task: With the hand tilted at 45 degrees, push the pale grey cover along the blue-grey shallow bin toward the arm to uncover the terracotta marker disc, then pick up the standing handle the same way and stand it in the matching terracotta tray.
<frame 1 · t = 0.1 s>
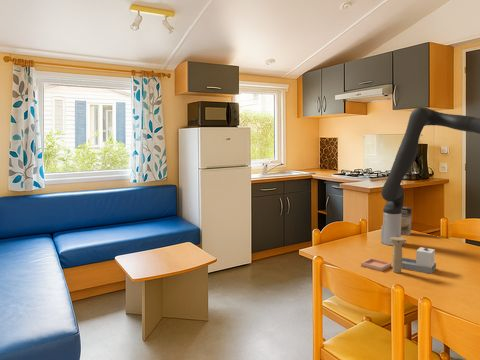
blue-grey shallow bin: (421, 268, 173), on the table
tray: (376, 266, 177), on the table
handle: (397, 272, 169), on the table
coffee box: (402, 233, 234), on the table
cover: (425, 256, 171), point 6 cm above the table, slide at 0.0 cm
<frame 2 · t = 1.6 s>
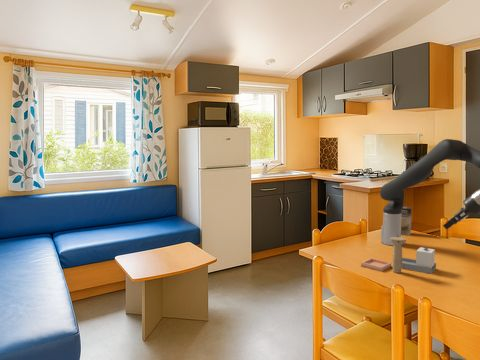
hand: (446, 225, 164), 21 cm above the table, tool tilted 45°, fingers open, 8 cm apart
nothing on the table moved.
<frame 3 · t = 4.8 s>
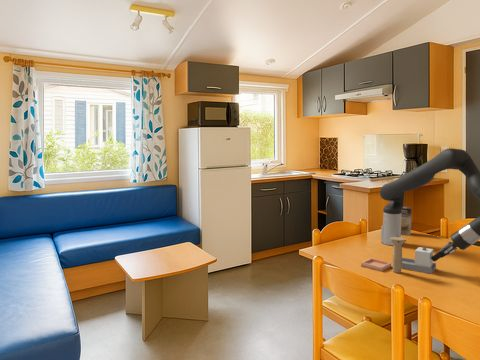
hand: (432, 259, 169), 5 cm above the table, tool tilted 45°, fingers closed
cover: (424, 256, 171), point 6 cm above the table, slide at 0.6 cm, touching gripper
everything else where it was.
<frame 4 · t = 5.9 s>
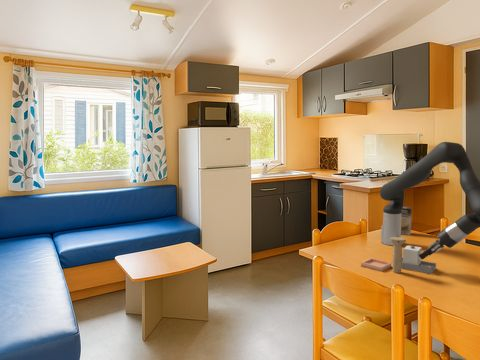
hand: (420, 257, 172), 5 cm above the table, tool tilted 45°, fingers closed
cover: (412, 254, 174), point 6 cm above the table, slide at 5.5 cm, touching gripper
everything else where it was.
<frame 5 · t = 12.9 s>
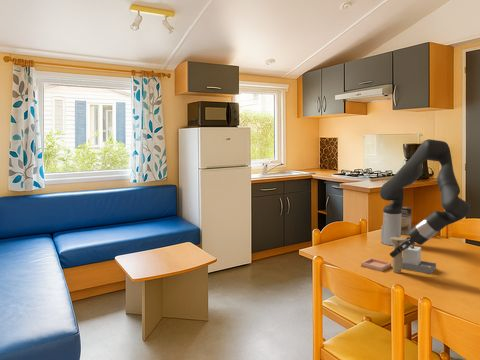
hand: (392, 254, 170), 8 cm above the table, tool tilted 45°, fingers closed on handle, 3 cm apart
handle: (397, 272, 169), on the table, touching gripper
cover: (412, 254, 174), point 6 cm above the table, slide at 5.6 cm
everything else where it was.
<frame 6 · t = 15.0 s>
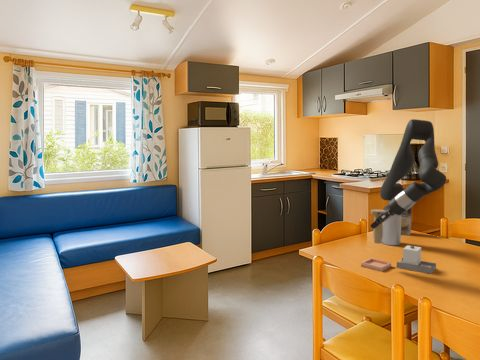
hand: (373, 226, 176), 19 cm above the table, tool tilted 45°, fingers closed on handle, 3 cm apart
handle: (377, 243, 176), point 11 cm above the table, touching gripper
everything else where it was.
when the fingers open (9 cm above the table, at t = 17.6 s): handle drops 1 cm, resting on tray.
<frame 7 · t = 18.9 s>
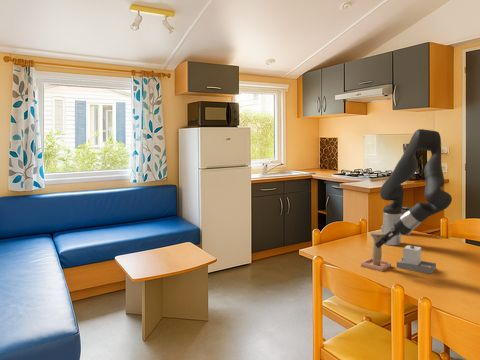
hand: (380, 244, 175), 11 cm above the table, tool tilted 45°, fingers open, 8 cm apart
handle: (376, 265, 177), resting on tray
everything else where it was.
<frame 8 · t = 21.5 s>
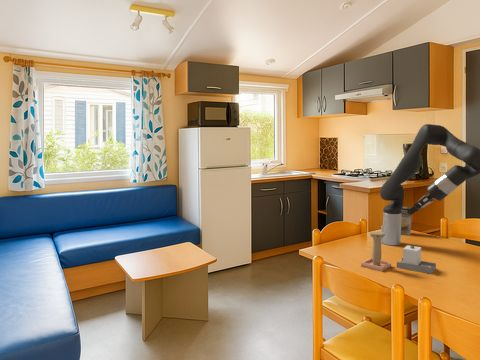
hand: (412, 211, 167), 27 cm above the table, tool tilted 45°, fingers open, 8 cm apart
nothing on the table moved.
at the end: cover slide at 5.6 cm; handle inside the target area on the tray (0.1 cm from its centre), point 0.4 cm above the tray's base; handle tilted 0° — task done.
